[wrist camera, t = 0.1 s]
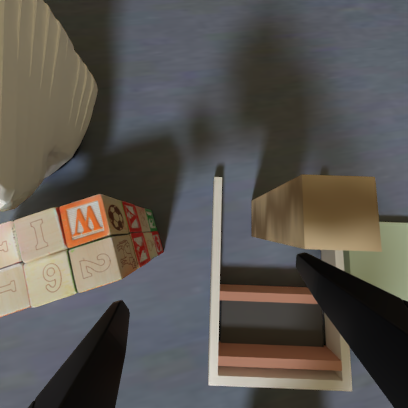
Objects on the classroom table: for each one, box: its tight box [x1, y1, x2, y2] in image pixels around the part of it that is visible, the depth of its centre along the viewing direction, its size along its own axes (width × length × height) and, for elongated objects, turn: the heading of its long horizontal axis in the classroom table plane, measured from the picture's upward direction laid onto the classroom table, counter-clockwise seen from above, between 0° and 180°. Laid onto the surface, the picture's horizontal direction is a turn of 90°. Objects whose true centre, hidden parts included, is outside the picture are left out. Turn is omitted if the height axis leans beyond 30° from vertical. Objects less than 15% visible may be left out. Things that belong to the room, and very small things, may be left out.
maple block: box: [252, 175, 382, 252], centre depth 17 cm, size 5×5×12 cm
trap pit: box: [218, 284, 342, 371], centre depth 21 cm, size 8×14×2 cm, turn 88°
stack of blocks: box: [0, 194, 163, 317], centre depth 17 cm, size 21×6×12 cm, turn 108°
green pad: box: [343, 222, 408, 301], centre depth 22 cm, size 12×12×1 cm
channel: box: [208, 177, 352, 391], centre depth 22 cm, size 24×16×2 cm, turn 178°
